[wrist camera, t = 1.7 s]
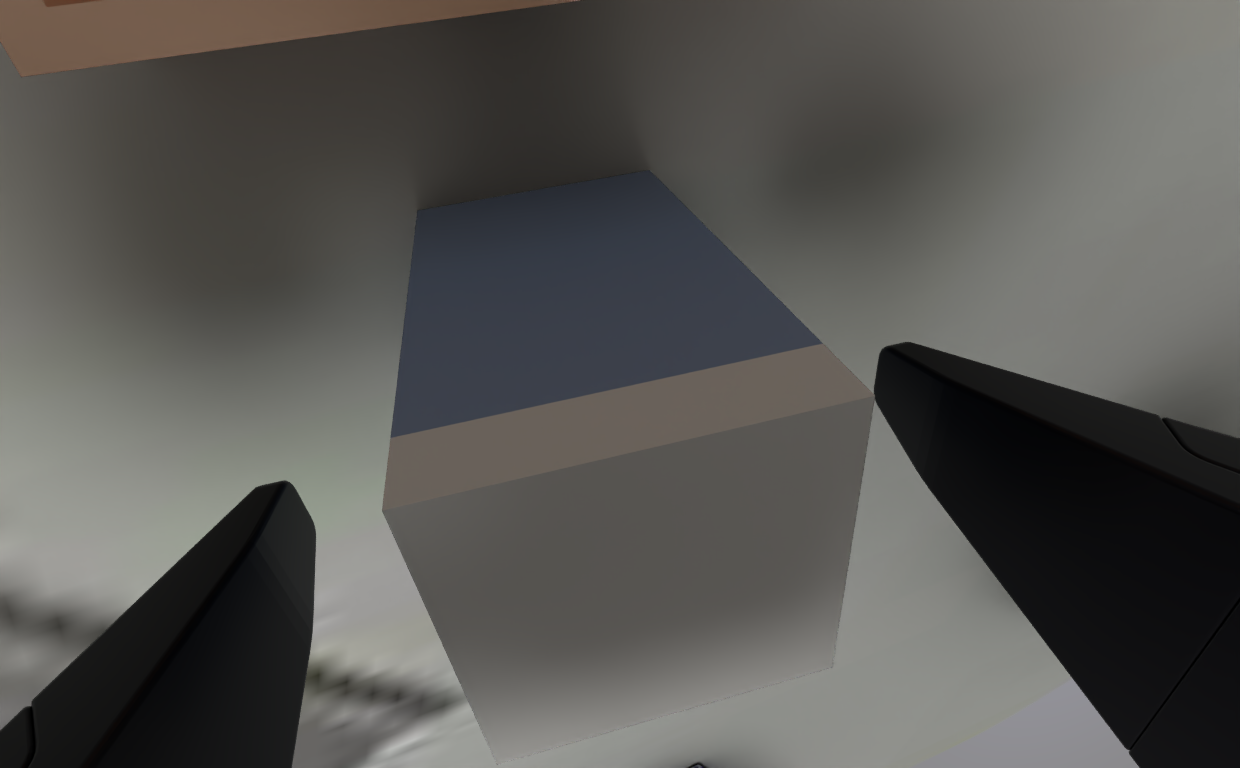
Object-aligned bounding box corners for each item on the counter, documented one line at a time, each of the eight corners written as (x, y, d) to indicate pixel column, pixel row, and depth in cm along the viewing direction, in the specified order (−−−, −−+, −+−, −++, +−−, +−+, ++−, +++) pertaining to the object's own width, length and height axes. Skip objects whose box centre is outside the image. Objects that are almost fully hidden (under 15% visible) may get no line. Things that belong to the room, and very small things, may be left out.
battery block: (663, 362, 15) (832, 667, 8) (474, 403, 14) (496, 764, 8) (649, 170, 12) (875, 395, 6) (417, 210, 12) (382, 509, 5)
